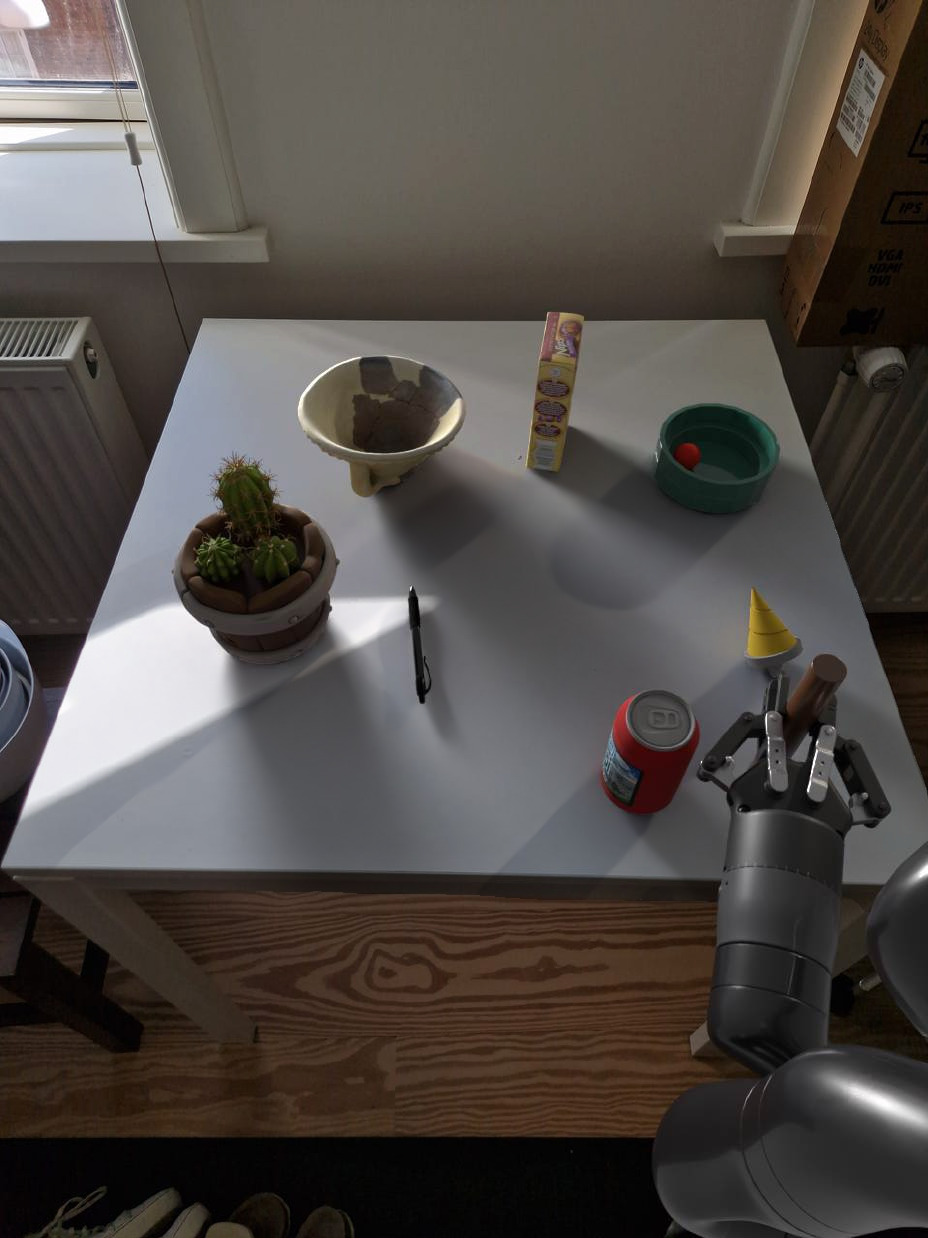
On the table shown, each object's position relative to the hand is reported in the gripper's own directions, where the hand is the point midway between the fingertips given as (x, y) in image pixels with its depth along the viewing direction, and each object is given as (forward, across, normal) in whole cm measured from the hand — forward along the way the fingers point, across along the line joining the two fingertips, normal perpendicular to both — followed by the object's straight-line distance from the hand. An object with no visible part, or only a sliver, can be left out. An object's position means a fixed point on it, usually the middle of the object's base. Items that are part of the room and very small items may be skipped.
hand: (800, 685), depth 66 cm
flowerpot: (+1, +48, +14) cm, 50 cm away
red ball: (+36, +12, +12) cm, 40 cm away
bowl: (+26, +45, +14) cm, 54 cm away
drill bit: (+12, +1, +14) cm, 18 cm away
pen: (+3, +33, +14) cm, 36 cm away
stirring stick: (-3, 0, +10) cm, 10 cm away
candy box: (+35, +28, +14) cm, 47 cm away
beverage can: (-5, +10, +14) cm, 18 cm away
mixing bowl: (+36, +9, +14) cm, 40 cm away
